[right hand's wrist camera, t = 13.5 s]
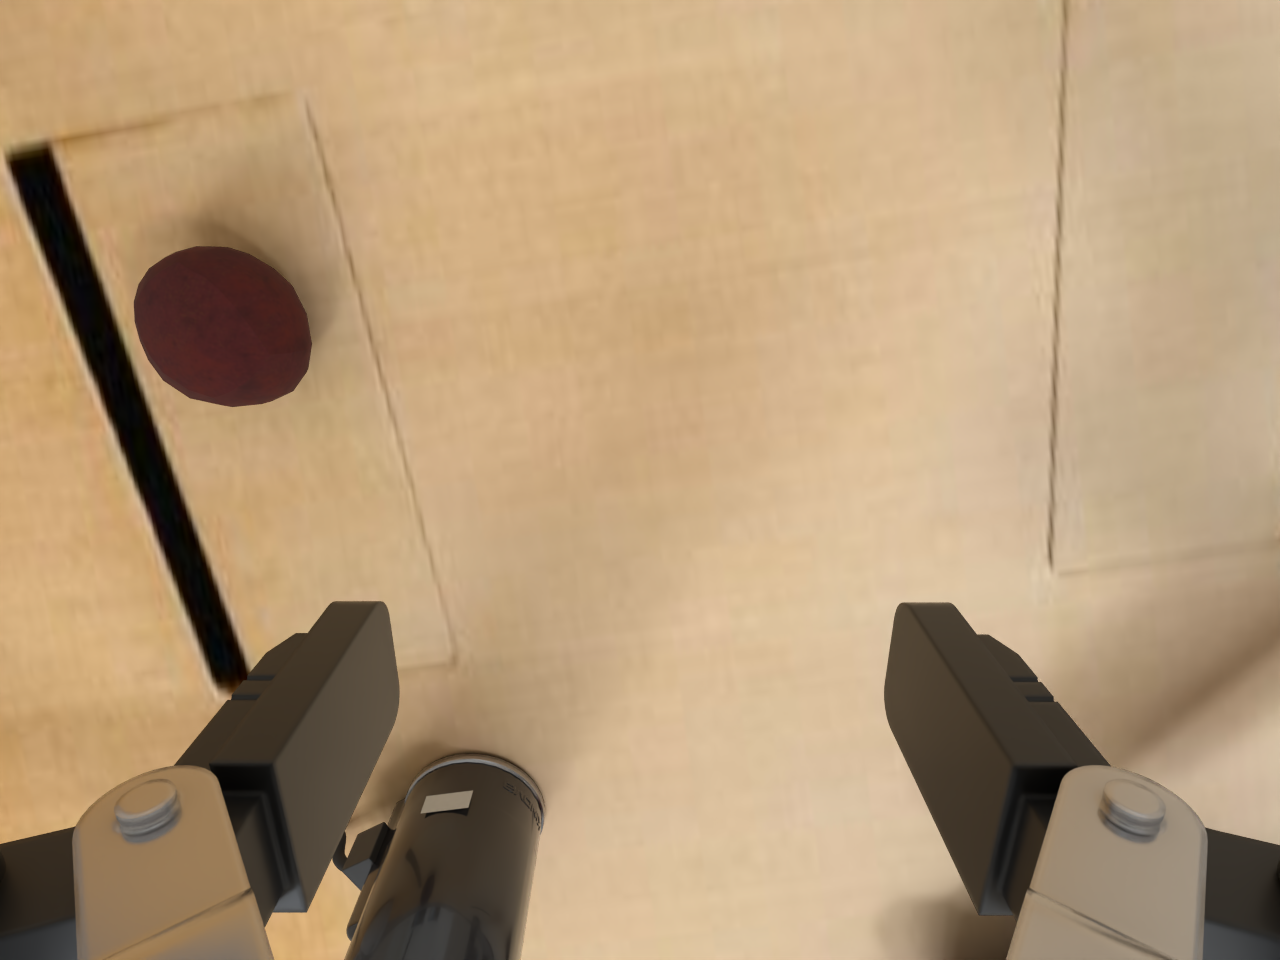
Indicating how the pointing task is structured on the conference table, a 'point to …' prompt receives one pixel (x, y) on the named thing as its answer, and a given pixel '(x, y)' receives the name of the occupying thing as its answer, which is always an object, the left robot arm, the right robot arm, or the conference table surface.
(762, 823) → the conference table surface
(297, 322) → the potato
